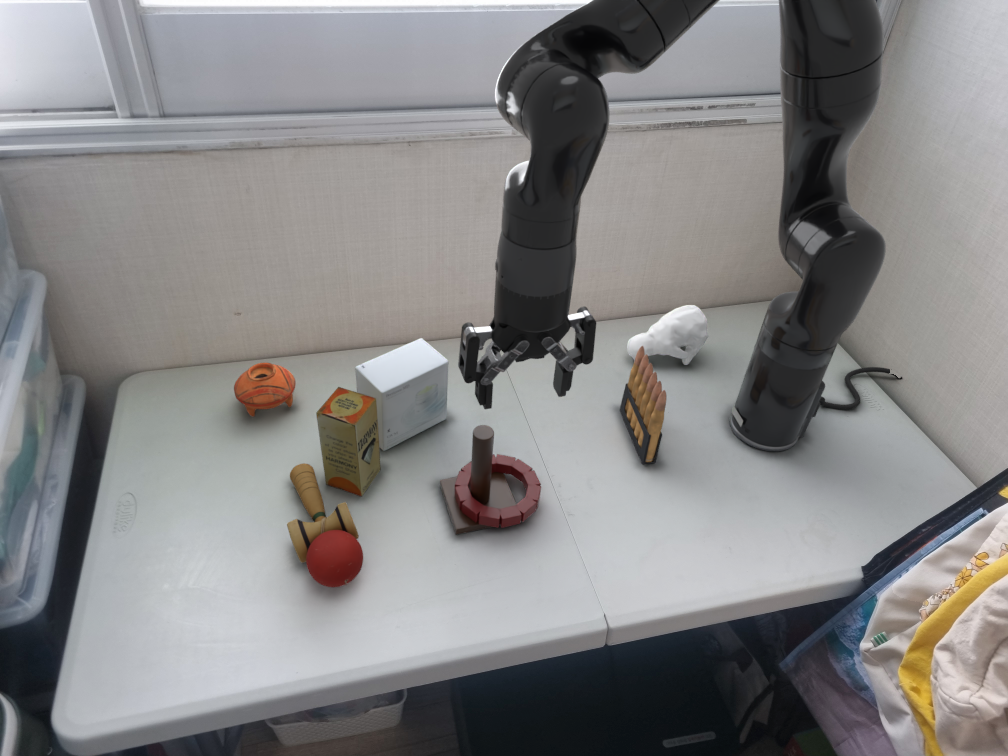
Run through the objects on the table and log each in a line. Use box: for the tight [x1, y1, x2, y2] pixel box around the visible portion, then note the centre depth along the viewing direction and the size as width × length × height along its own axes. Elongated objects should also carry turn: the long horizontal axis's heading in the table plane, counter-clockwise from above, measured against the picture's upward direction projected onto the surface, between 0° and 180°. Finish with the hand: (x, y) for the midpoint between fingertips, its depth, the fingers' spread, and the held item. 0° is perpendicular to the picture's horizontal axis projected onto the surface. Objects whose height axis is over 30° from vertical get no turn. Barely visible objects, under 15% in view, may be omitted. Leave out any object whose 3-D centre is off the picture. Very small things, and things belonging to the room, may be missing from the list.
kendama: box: [286, 463, 364, 588], centre depth 87 cm, size 8×6×18 cm
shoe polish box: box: [316, 386, 382, 498], centre depth 92 cm, size 5×5×12 cm
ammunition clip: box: [619, 346, 667, 465], centre depth 100 cm, size 11×2×12 cm, turn 10°
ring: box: [455, 453, 542, 529], centre depth 93 cm, size 10×10×2 cm
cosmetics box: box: [354, 337, 450, 452], centre depth 100 cm, size 10×6×10 cm, turn 131°
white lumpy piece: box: [626, 304, 709, 366], centre depth 115 cm, size 6×8×12 cm
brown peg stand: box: [439, 424, 517, 536], centre depth 90 cm, size 8×8×12 cm
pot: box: [233, 362, 296, 417], centre depth 103 cm, size 8×8×7 cm
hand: (522, 397), depth 84 cm, fingers open, 8 cm apart
